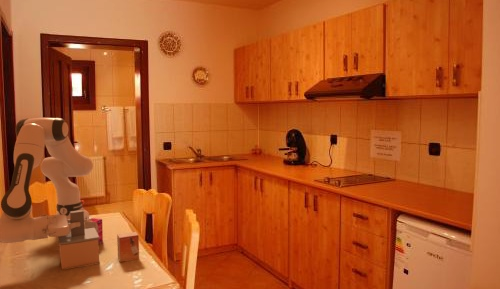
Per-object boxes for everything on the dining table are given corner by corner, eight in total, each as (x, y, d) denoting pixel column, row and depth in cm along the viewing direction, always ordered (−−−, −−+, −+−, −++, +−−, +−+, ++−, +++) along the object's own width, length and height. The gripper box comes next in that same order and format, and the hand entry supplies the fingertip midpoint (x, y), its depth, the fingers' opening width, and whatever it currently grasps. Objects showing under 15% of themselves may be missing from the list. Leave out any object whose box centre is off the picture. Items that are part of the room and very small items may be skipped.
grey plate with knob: (57, 234, 171) (56, 209, 170) (94, 229, 178) (93, 205, 177) (59, 245, 158) (57, 218, 157) (99, 238, 165) (98, 213, 164)
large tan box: (60, 258, 172) (58, 235, 171) (94, 252, 178) (93, 230, 177) (62, 269, 159) (60, 245, 158) (99, 263, 166) (98, 239, 165)
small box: (120, 262, 166) (118, 237, 165) (117, 258, 171) (116, 234, 170) (139, 259, 170) (138, 234, 169) (136, 254, 175) (135, 231, 174)
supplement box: (96, 246, 186) (95, 221, 185) (85, 245, 188) (83, 221, 187) (103, 241, 192) (102, 218, 191) (92, 241, 193) (91, 217, 192)
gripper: (42, 226, 152) (81, 221, 158) (41, 213, 170) (77, 209, 176) (43, 242, 152) (82, 237, 159) (42, 228, 170) (77, 223, 177)
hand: (79, 222), depth 168 cm, fingers closed on grey plate with knob, 2 cm apart
